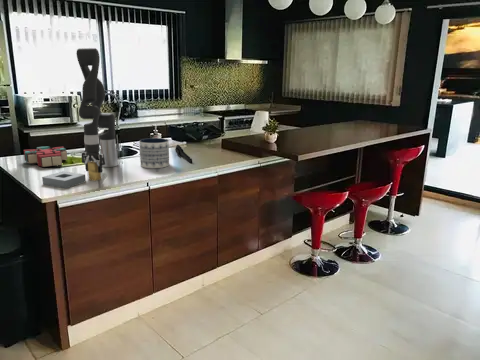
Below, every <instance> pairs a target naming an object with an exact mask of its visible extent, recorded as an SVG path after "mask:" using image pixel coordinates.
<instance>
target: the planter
mask: <svg viewBox="0 0 480 360" xmlns="http://www.w3.org/2000/svg"><path fill="white" fill-rule="evenodd" d="M138 143H139V156H140V157H139V160H140V161H139V162H140V166H141V167H142V168H145V169H162V168H166V167H168V166H169V165H170V150H169V148H170V145H169V143H170V142H169V139H167V138H161V137H149V138H142V139H140V140H139V141H138Z"/></svg>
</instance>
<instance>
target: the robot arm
mask: <svg viewBox="0 0 480 360" xmlns="http://www.w3.org/2000/svg"><path fill="white" fill-rule="evenodd" d="M75 54H76V58H77V62H78V64H79V67H80V68H79V69H80V70H81V72H82V75H83V78H84V82H83V84H82V93H81V95H82V98H81V101H80V105H79V108H78V115H79V116H78V117H80V118H81V119H83V120H92V121H91V122H87V123H84V125H83V132H84V133H83V134H84V137H83V140H84V141H83V142H84V152H83V151H82V152H81V163H82V164H84V166H85V170H86V172H88V162H91V161H95V163H97V165H98V173H101V174H102V173H103V168H113V167H117V166H118V165H119V161H118V159H119V157H118V149H117V145H116V143H117V142H116V118H115V115H114V113H112V112H110V113H109V112H101V107H102V105H103V103H104V102H105V98H106V90H105V87H104V84H103V82H102V81H101V80H100V79H99V77H98V75H99V69H100V68H99V67H100V57H101V56H100V53H99V50H98V49H97V48H95V47H81V48H77V49H76V53H75ZM89 66H90V67H91V69H90V67H89ZM89 104H91V105H89ZM99 128H100V129H107V131H105V132H103V133H101V134H100V135H99V130H98V129H99ZM99 163H100V164H99Z"/></svg>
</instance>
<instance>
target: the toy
mask: <svg viewBox="0 0 480 360" xmlns="http://www.w3.org/2000/svg"><path fill="white" fill-rule="evenodd" d="M67 152H68V151H67V149H66V148H65V147H64V146H56V147H51V146H37V147H36V149H23V156H24V161H25V163H28V164H37V167H42V168H46V167H52V166H53V167H54V166H62V165H63V161H65V160H68V153H67Z"/></svg>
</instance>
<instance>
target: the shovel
mask: <svg viewBox="0 0 480 360" xmlns="http://www.w3.org/2000/svg"><path fill="white" fill-rule="evenodd" d="M174 151H175V154H176V155H177V156H178V157H182V158H183V159H184V160H185V161H186V162H188V163H189V164H192V163H193V159H192V158H191V156H189V155H188V154H187V153H186V152H185V151H184V149H183V148H182V147H181V146H180V145H179V144H176V146H175V150H174Z"/></svg>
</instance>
